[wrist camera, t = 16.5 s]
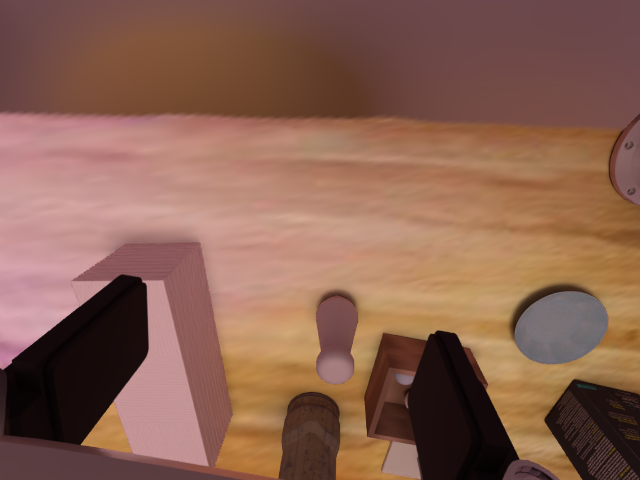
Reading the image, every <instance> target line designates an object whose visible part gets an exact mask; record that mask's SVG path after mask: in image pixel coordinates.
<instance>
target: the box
mask: <svg viewBox="0 0 640 480" xmlns="http://www.w3.org/2000/svg"><path fill="white" fill-rule="evenodd" d="M426 343H427V341H425V340H419V339H413V338H408V337H402V336H396V335H391V334H385V333H383V336H382V340H381V343H380V346H379V350H378V353H377V357H376V360H375V363H374V367H373V370H372V374H371V377H370V380H369V384H368V387H367V391H366V394H365V397H364V399H365V413H366V427H367V437H371V438H377V439H382V440H388V441H394V442H399V443H405V444H411V445H416V444H415V439H414V434H413V430H412V425H411V420H410V415H409V410H408V408H407V407H406V405H405V396H406V394H407V393H408V392H409V390H410V388H411V385H412V383H411V384H409V385H403V384H400V383H399V382H398V381H397V380H396V379H395V377H394V373H396V374H402V375H407V376H413V377H414V376H415V374H416V371H417V368H418V365H419V362H420V360H421V357H422V354H423V351H424V348H425V346H426ZM463 349H464V351H465V353H466V355H467V357H468V359H469V361H470V363H471V365H472V367H473V369H474V371H475V374H476V376H477V378H478V380H479V381H481V382H482V384H483V385H484V387H485V390H486V388H487V386H488V383H487V381H486V380H485V378H484V376H483V374H482V372H481V370H480V368H479V366H478V364H477V362H476V360H475V358H474V356H473V354H472V352H471V350H470V348H464V347H463Z"/></svg>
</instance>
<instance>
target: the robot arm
mask: <svg viewBox="0 0 640 480" xmlns="http://www.w3.org/2000/svg"><path fill="white" fill-rule="evenodd" d="M610 177H611V180H612V183H613V186H614V188H615V189H616V191H617V192H618V194H620V195H621V196H622V197H623V198H624V199H625V200H627V201H629V202H631V203H633V204H636V205H638V206H640V114H639V115H638V116H637V117H636V118H635V119H634V120H633V121H632V122H631V123H630V124H629V125H628V126H627V128H626V129H625V130H624V132H623V133H622V134H621V136H620V137H619V139H618V141H617V143H616V145H615V147H614V150H613V153H612V156H611V162H610ZM148 351H149V335H148V303H147V285H146V283H144V282H142V279H141V278H140V277H136V276H130V275H125V274H121V275H119V276H118V277H116V278H115V279H114V280H113V281H111V282H110V283H109V284H108V285H106V286H105V287H104V288H103V289H101V290H100V291H99V292H97V293H96V294H95V295H94V296H92V297H91V298H90V299H89V300H87V301H86V302H85V303H84V304H82V305H81V306H80V307H79V308H77V309H76V310H75V311H73V312H72V313H71V314H70V315H68V316H67V317H66V318H65V319H63V320H62V321H61V322H60V323H58V324H57V325H56V326H55V327H53V328H52V329H51V330H50V331H48V332H47V333H46V334H44V335H43V336H42V337H41V338H39V339H38V340H37V341H36V342H34V343H33V344H32V345H31V346H29V347H28V348H27V349H26V350H24V351H23V352H22V353H20V354H19V355H18V356H17V357H15V358H14V359H13V360H12V363H11V364H10V365H9V366H7V367H6V368H5V369H4V370H2V369H1V368H0V480H283V479H277V478H272V477H266V476H260V475H255V474H249V473H243V472H237V471H232V470H226V469H220V468H214V467H209V466H203V465H197V464H191V463H186V462H180V461H174V460H168V459H162V458H156V457H150V456H144V455H138V454H132V453H126V452H120V451H114V450H108V449H102V448H96V447H90V446H83V445H81V443H82V442H83V441H84V439H85V438H86V437H87V435H88V434H89V433H90V432H91V430H92V429H93V428H94V426H95V425H96V424H97V422H98V421H99V420H100V418H101V417H102V416H103V414H104V413H105V412H106V410H107V409H108V408H109V406H110V405H111V404H112V402H113V401H114V400H115V399H116V397H117V396H118V395H119V393H120V392H121V391H122V389H123V388H124V387H125V385H126V384H127V383H128V381H129V380H130V379H131V377H132V376H133V375H134V373H135V372H136V371H137V369H138V368H139V367H140V365H141V364H142V363H143V362H144V360H145V359H146V357H147V354H148ZM407 405H408V410H409V415H410V420H411V425H412V430H413V434H414V439H415V444H416V449H417V453H418V458H419V463H420V468H421V472H422V477H423V480H559V479H558V478H557V477H556V476H555V475H554V474H552V473H551V472H550V471H549V470H547V469H546V468H544V467H542V466H541V465H539V464H537V463H534V462H531V461H529V460H520V459H519V457H518V455H517V453H516V451H515V449H514V447H513V445H512V443H511V441H510V439H509V437H508V435H507V432H506V430H505V428H504V426H503V424H502V422H501V420H500V418H499V416H498V414H497V412H496V410H495V408H494V406H493V404H492V402H491V400H490V398H489V396H488V394H487V392H486V390H485V387H484V385H483V384H482V382H481V381H479V380H478V378H477V376H476V374H475V371H474V369H473V367H472V365H471V363H470V361H469V359H468V357H467V355H466V353H465V351H464V349H463V347H462V344H461V342H460V340H459V338H458V336H457V335H456V334H455V333H450V332H445V331H439V330H438V331H436V332H435V334H430V335H429V337H428V340H427V343H426V346H425V348H424V351H423V354H422V357H421V360H420V362H419V365H418V368H417V371H416V374H415V376H414V379H413V382H412V385H411V388H410V390H409V393H408V398H407Z"/></svg>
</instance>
